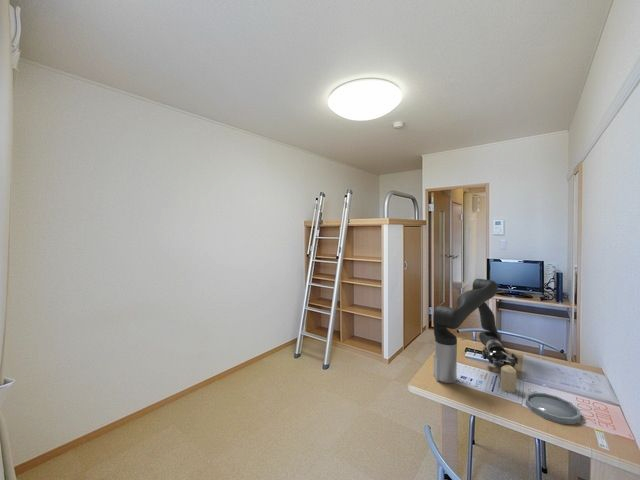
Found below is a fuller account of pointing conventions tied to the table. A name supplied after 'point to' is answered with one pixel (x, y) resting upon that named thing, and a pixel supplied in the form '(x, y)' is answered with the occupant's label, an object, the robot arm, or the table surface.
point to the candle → (508, 378)
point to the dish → (553, 408)
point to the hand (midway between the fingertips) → (502, 363)
